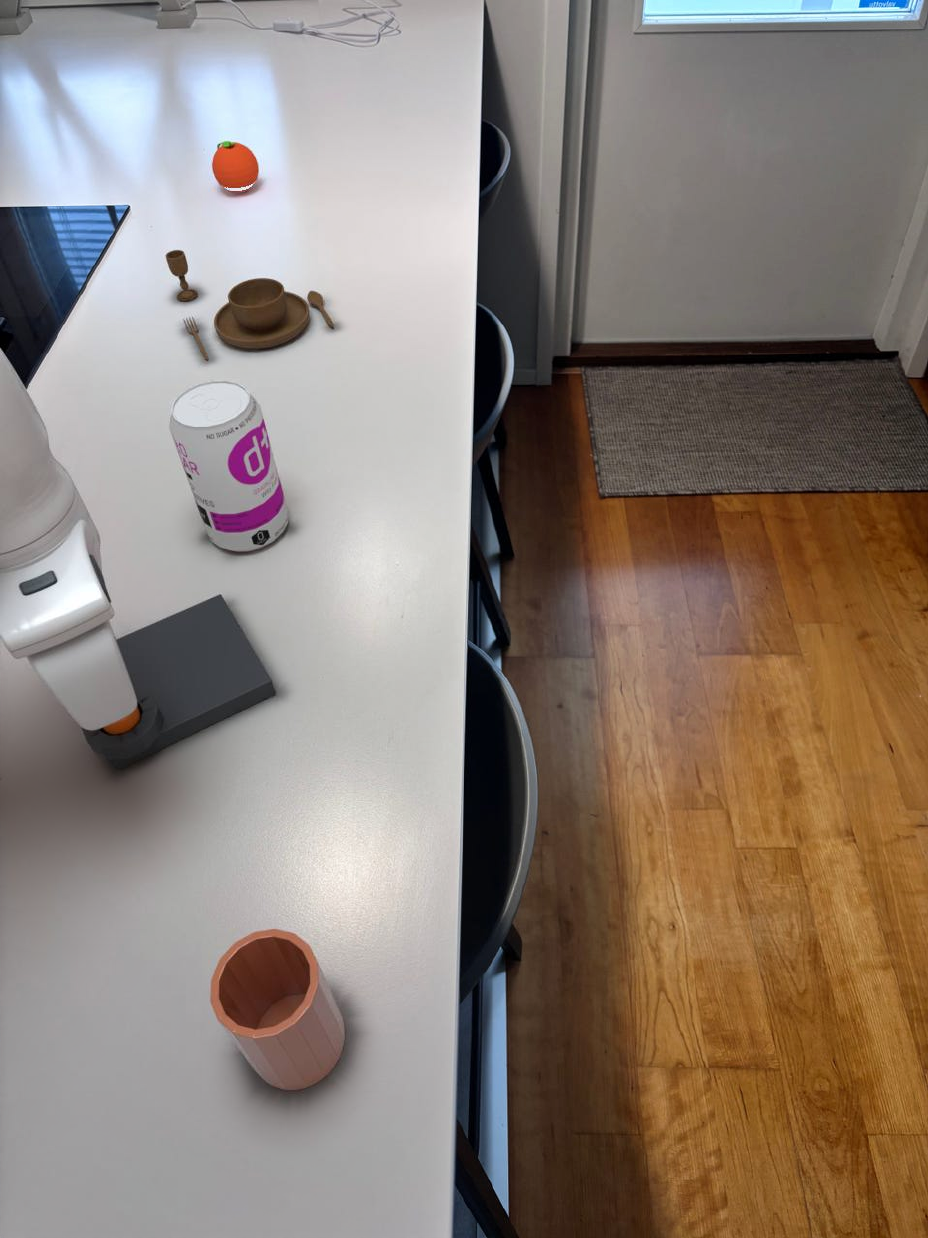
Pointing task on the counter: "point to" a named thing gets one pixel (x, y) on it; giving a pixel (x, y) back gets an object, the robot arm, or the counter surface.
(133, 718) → the button
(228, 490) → the supplement can
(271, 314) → the place setting
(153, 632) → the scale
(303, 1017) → the cup
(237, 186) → the clementine
